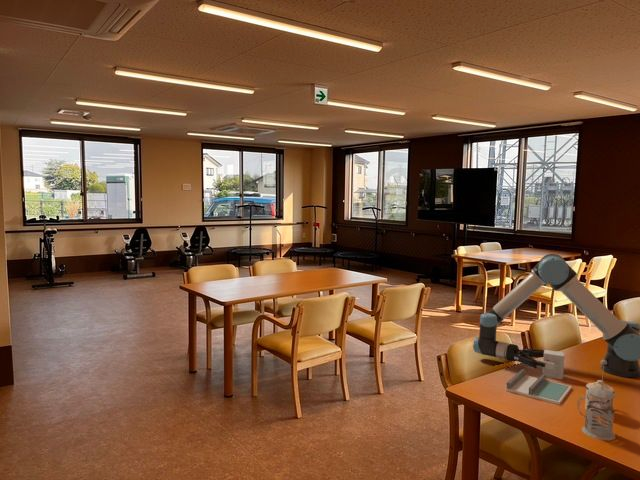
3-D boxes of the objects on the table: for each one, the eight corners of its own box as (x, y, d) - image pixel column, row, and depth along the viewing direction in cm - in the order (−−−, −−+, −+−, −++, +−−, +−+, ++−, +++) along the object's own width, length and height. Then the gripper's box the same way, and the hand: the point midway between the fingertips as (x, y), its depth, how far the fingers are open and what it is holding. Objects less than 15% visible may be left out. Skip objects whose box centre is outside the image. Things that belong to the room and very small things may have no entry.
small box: (562, 375, 212) (564, 352, 211) (563, 379, 207) (564, 356, 206) (542, 372, 215) (543, 349, 214) (542, 376, 210) (543, 353, 209)
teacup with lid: (608, 419, 170) (610, 387, 169) (580, 411, 177) (582, 380, 176) (618, 409, 179) (620, 379, 177) (591, 401, 185) (593, 372, 184)
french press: (619, 442, 155) (625, 366, 152) (579, 436, 158) (584, 362, 156) (610, 428, 164) (616, 356, 162) (573, 423, 167) (578, 352, 165)
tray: (571, 388, 197) (571, 380, 197) (559, 404, 182) (559, 395, 181) (521, 376, 209) (522, 368, 209) (506, 390, 194) (506, 382, 194)
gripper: (516, 352, 232) (564, 363, 219) (498, 366, 213) (549, 379, 200) (516, 337, 232) (565, 347, 218) (499, 350, 212) (550, 361, 199)
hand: (558, 362), depth 209 cm, fingers open, 13 cm apart
